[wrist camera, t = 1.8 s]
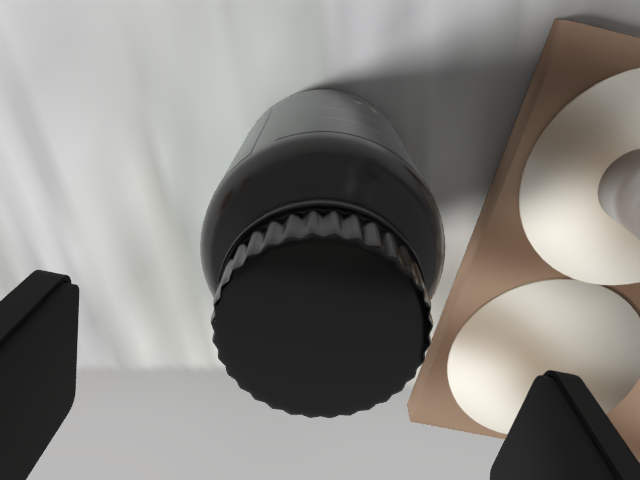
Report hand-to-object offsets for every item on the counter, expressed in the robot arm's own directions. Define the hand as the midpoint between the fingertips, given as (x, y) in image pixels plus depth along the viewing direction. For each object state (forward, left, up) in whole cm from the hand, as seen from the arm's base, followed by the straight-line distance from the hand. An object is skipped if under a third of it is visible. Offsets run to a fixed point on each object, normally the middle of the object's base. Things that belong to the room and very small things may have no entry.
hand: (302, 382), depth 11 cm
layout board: (+1, +17, -13) cm, 21 cm away
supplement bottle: (-1, 0, -13) cm, 13 cm away
